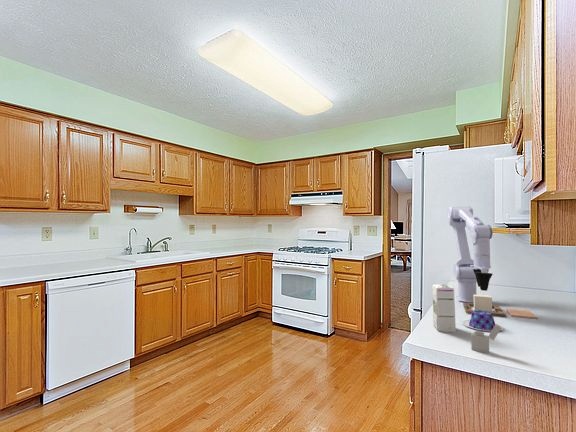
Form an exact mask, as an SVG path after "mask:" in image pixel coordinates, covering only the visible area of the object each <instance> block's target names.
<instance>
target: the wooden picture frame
mask: <svg viewBox="0 0 576 432" xmlns="http://www.w3.org/2000/svg"><path fill="white" fill-rule="evenodd" d="M462 306H463V309H464V311H465V314H467V313H468V314H470V315H472V312H473V311H474V309H473V310H472V307H473V308H474V303H473V302H462ZM492 310H494V311H492V312H490V313H491V314H492V315H493V317H496V318H497V317H499V318H500V317H501V318H506V317H507V314H506V313H505V312H504V310H503V309H502V308H501V307H500V305H497V304H492ZM468 314H467V315H468Z"/></svg>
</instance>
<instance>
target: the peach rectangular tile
mask: <svg viewBox="0 0 576 432" xmlns="http://www.w3.org/2000/svg"><path fill="white" fill-rule="evenodd" d="M504 309H505V311H506V312H507V313H508V315H509V316H510V317H514V318H523V319H535V320H538V316H536V315H535V314H534V313H533V312H532V311H531V310H529V309H521V308H519V309H517V308H509V307H508V308H507V307H506V308H504Z"/></svg>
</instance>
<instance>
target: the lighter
mask: <svg viewBox="0 0 576 432" xmlns="http://www.w3.org/2000/svg"><path fill="white" fill-rule="evenodd" d="M498 324H499V323H496V325H495V326H494V328H493V330H490V333H489V334H488V335H486V334H485V331H482V330H476V331H474V332H472V333H471V335H470V337H471V338H470V340H471V343H470V344H471V351H474V352H479V353H485V354H489V353H490V340H492V341H495V339H496V338H497V336H498V334H499V333H500V331H501V330H500V329H501V326H502V325H501V326H499V325H500V324H499V325H498Z"/></svg>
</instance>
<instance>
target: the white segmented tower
mask: <svg viewBox="0 0 576 432" xmlns="http://www.w3.org/2000/svg"><path fill="white" fill-rule="evenodd" d="M455 303H456V302H455V288H454V286H453V287H452V286H451V285H450V284H444V283H443V284H441V283H439V284H432V306H433V307H432V313H433V315H432V317H433V319H432V320H433V327H434V328H435V329H436V331H438V332H445V333H446V332H447V333H456V327H457V326H456V325H457V324H456V304H455Z"/></svg>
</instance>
